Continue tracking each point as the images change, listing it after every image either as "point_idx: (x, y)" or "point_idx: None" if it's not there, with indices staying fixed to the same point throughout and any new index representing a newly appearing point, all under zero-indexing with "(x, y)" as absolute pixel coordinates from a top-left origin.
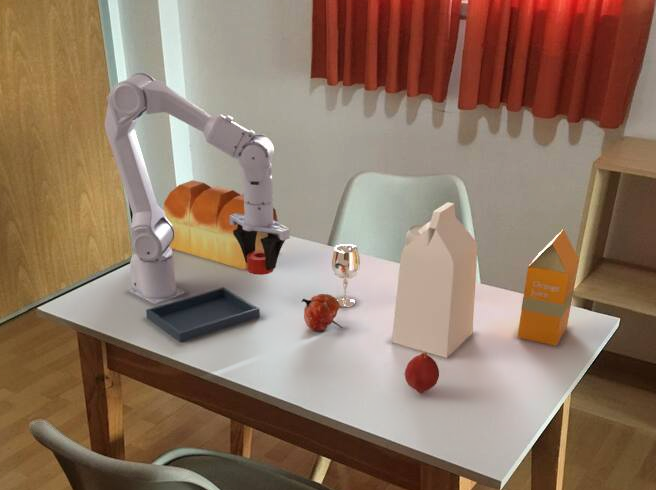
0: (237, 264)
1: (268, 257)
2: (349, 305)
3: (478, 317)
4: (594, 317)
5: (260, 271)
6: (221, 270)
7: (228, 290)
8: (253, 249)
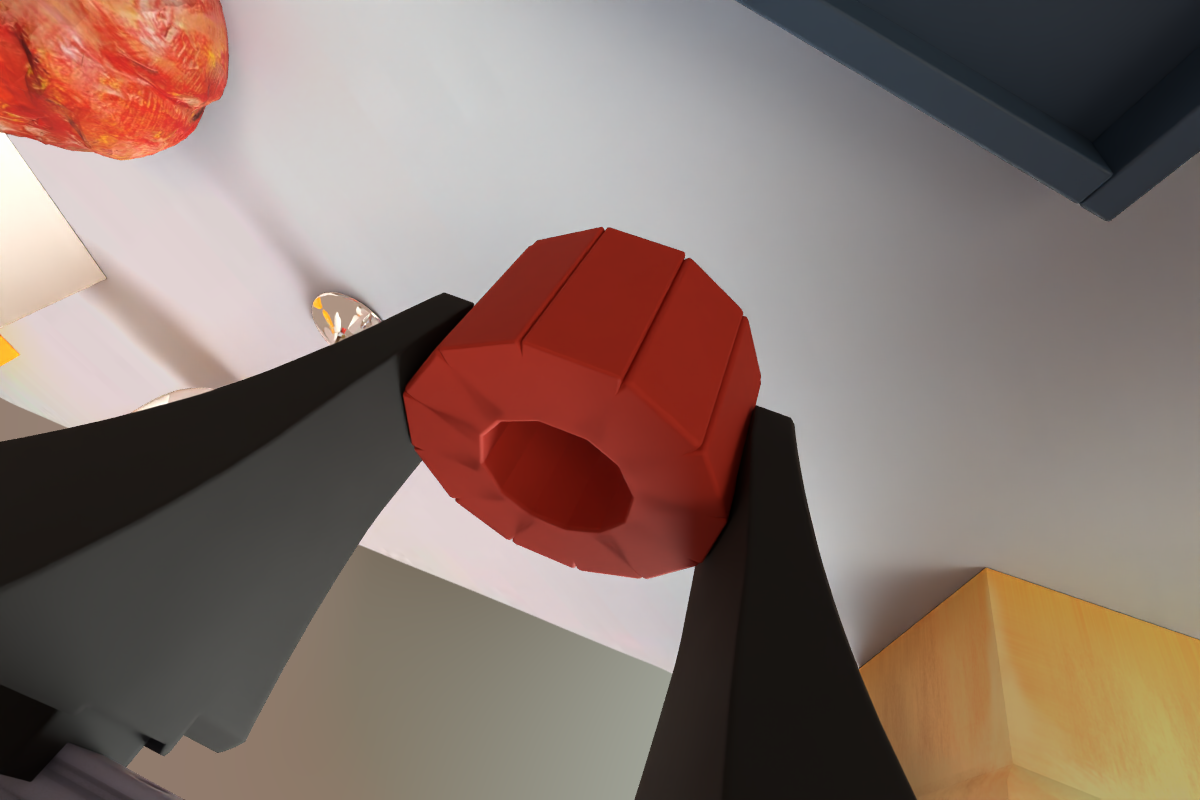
0: (1051, 607)
1: (282, 365)
2: (315, 308)
3: (68, 339)
4: (5, 394)
5: (522, 260)
6: (1180, 564)
7: (1022, 165)
8: (697, 589)
